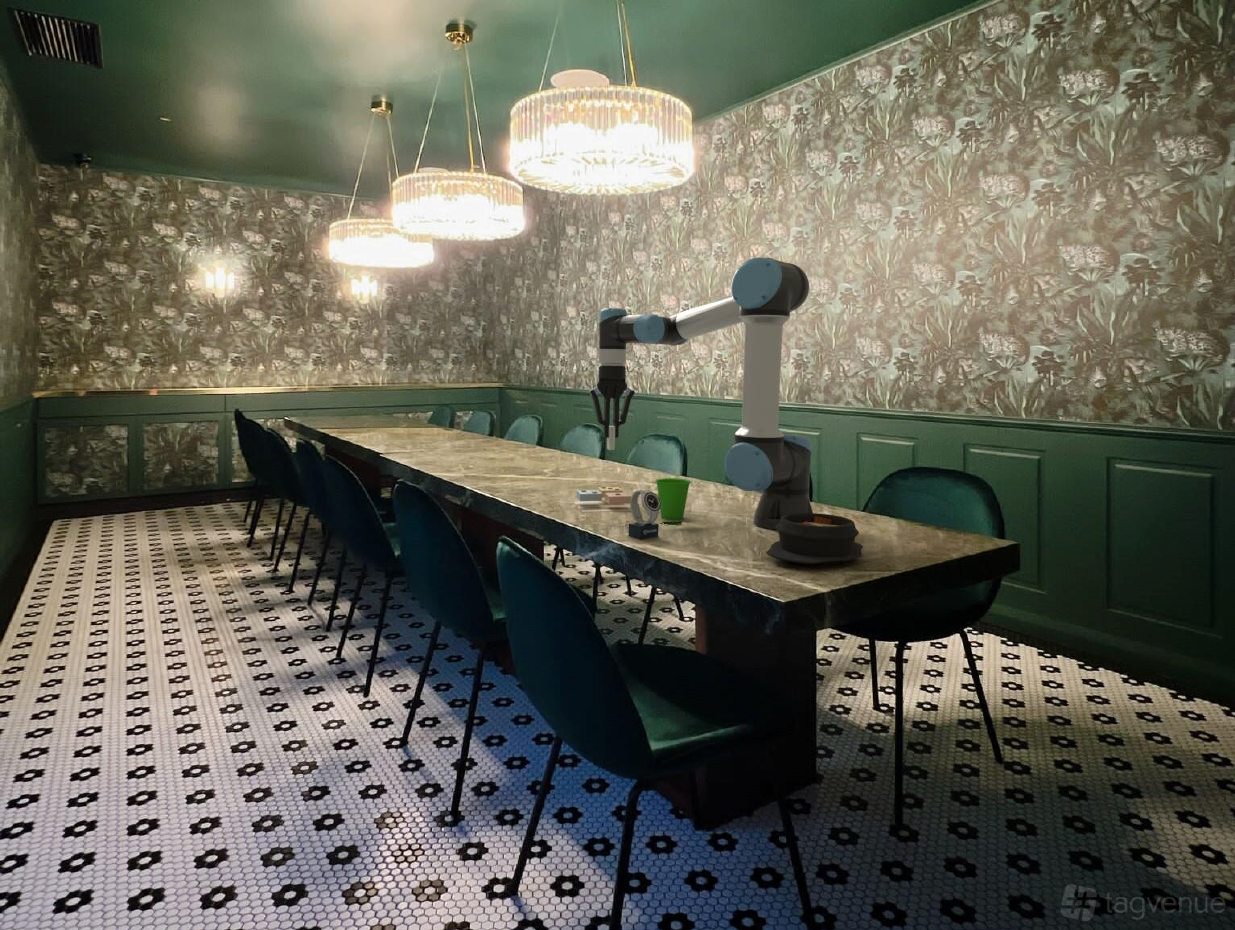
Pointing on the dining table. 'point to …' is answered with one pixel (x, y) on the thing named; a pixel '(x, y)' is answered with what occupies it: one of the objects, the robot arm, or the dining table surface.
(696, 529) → the dining table surface
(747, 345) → the robot arm
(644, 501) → the watch
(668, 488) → the cup
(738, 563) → the dining table surface
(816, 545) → the casserole
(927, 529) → the dining table surface
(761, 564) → the dining table surface
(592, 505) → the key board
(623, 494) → the tile one
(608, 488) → the tile three
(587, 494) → the tile two
